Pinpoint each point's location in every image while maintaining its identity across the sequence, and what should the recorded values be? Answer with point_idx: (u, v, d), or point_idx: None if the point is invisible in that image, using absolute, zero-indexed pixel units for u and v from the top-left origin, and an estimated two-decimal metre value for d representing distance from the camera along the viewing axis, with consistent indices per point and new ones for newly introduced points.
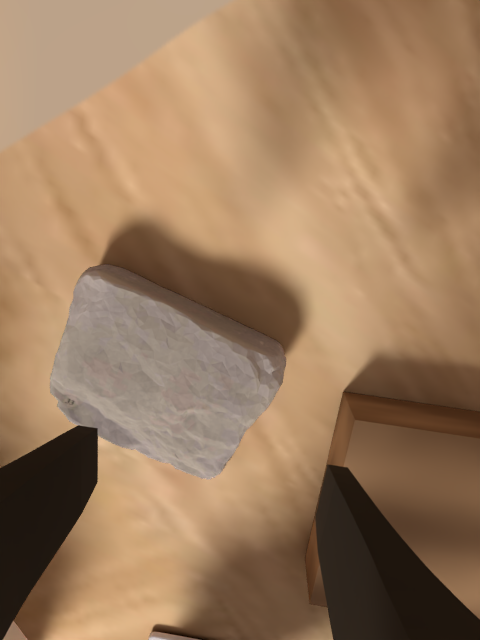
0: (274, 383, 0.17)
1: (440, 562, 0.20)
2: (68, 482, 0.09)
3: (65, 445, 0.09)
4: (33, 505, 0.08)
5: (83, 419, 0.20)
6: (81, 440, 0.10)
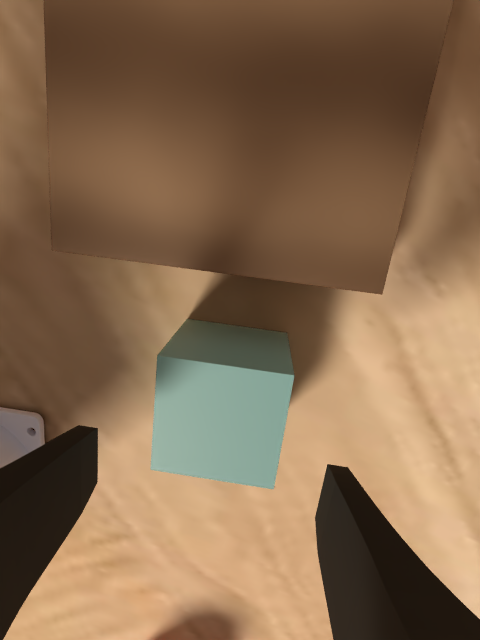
0: None
1: (228, 135, 0.12)
2: (68, 482, 0.09)
3: (65, 445, 0.09)
4: (33, 505, 0.08)
5: None
6: (81, 440, 0.10)
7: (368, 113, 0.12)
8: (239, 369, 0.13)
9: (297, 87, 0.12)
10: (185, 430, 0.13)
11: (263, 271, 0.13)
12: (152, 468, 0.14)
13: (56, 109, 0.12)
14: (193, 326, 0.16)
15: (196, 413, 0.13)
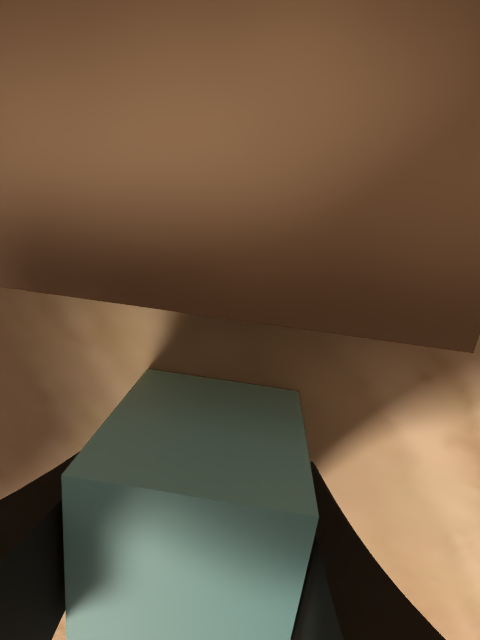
0: None
1: (193, 57, 0.06)
2: None
3: None
4: None
5: None
6: None
7: (470, 6, 0.06)
8: (214, 503, 0.07)
9: None
10: (121, 595, 0.08)
11: (261, 311, 0.08)
12: None
13: None
14: (152, 387, 0.10)
15: (138, 571, 0.07)
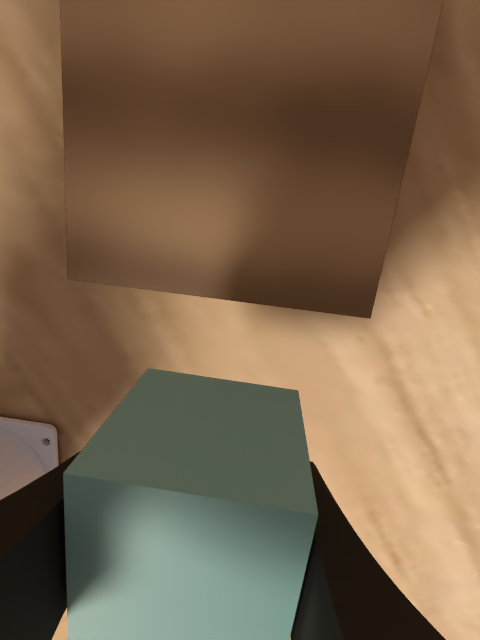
0: None
1: (228, 177, 0.13)
2: None
3: None
4: None
5: None
6: None
7: (354, 157, 0.13)
8: (215, 501, 0.07)
9: (291, 135, 0.13)
10: (122, 592, 0.08)
11: (261, 297, 0.15)
12: None
13: (72, 154, 0.14)
14: (152, 386, 0.11)
15: (140, 569, 0.07)
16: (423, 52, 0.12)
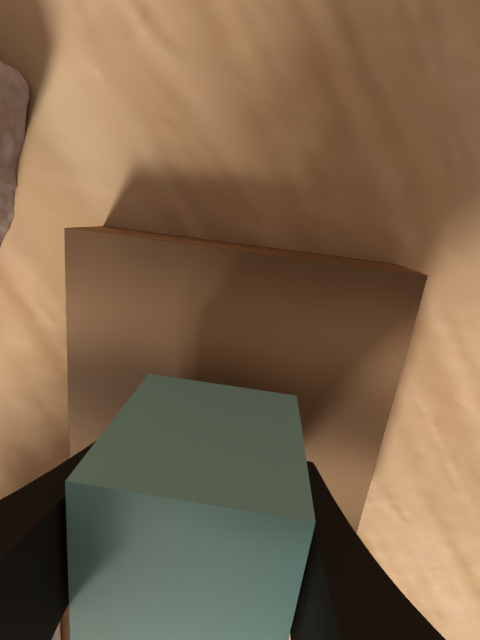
0: None
1: None
2: None
3: None
4: None
5: None
6: None
7: (333, 440, 0.14)
8: (215, 508, 0.07)
9: None
10: (123, 597, 0.08)
11: None
12: None
13: (76, 420, 0.15)
14: (153, 392, 0.11)
15: (141, 574, 0.08)
16: (394, 368, 0.13)
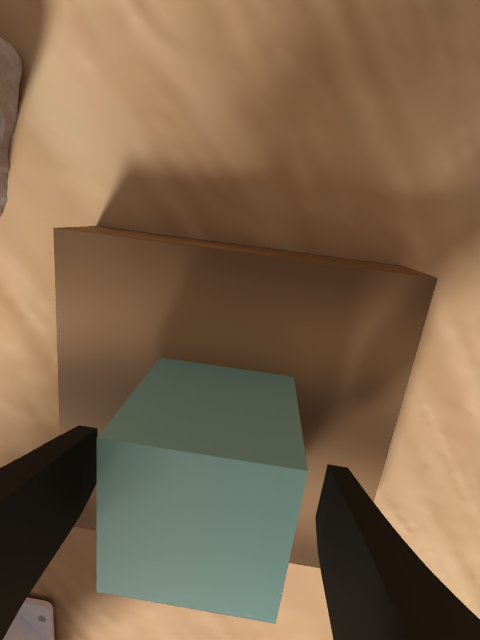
0: None
1: None
2: (68, 482, 0.09)
3: (65, 445, 0.09)
4: (33, 505, 0.08)
5: None
6: (81, 440, 0.10)
7: (337, 450, 0.14)
8: (223, 460, 0.08)
9: None
10: (144, 541, 0.09)
11: None
12: (99, 590, 0.10)
13: (68, 429, 0.14)
14: (165, 372, 0.12)
15: (159, 520, 0.09)
16: (401, 376, 0.12)
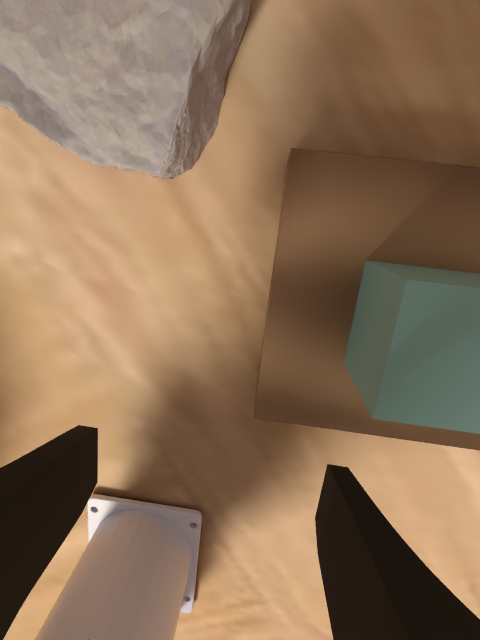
0: None
1: None
2: (68, 482, 0.09)
3: (65, 445, 0.09)
4: (33, 505, 0.08)
5: None
6: (81, 440, 0.10)
7: None
8: None
9: None
10: (424, 369, 0.12)
11: (417, 436, 0.18)
12: (374, 417, 0.12)
13: (273, 328, 0.17)
14: (385, 265, 0.15)
15: (441, 349, 0.11)
16: None
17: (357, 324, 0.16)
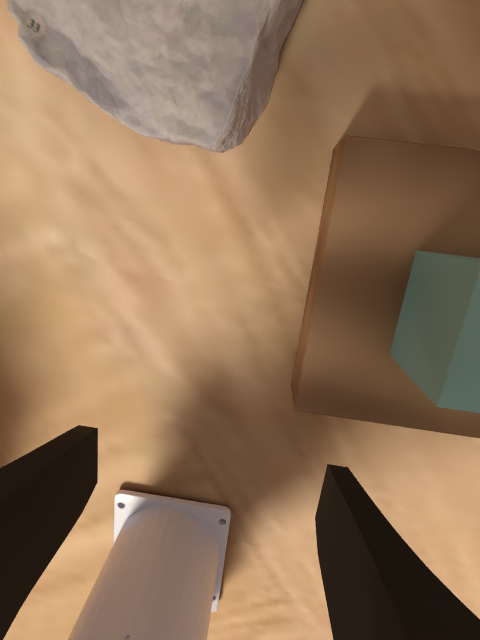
0: None
1: None
2: (68, 482, 0.09)
3: (65, 445, 0.09)
4: (33, 505, 0.08)
5: (52, 57, 0.15)
6: (81, 440, 0.10)
7: None
8: None
9: None
10: None
11: (460, 430, 0.18)
12: (439, 405, 0.12)
13: (318, 319, 0.17)
14: (440, 254, 0.14)
15: None
16: None
17: (408, 314, 0.15)
